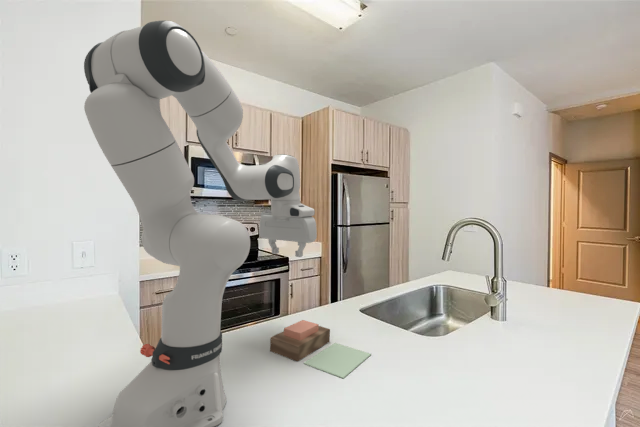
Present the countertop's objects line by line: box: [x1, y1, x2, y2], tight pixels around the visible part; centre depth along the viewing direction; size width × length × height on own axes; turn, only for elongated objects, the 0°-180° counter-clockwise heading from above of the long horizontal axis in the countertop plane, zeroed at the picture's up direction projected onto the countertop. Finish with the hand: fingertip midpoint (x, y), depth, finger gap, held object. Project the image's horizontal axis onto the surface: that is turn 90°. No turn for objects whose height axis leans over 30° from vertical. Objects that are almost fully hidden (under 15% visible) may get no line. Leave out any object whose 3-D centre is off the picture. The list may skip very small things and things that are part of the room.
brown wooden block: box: [269, 325, 331, 363], centre depth 93 cm, size 16×10×4 cm, turn 146°
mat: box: [303, 342, 372, 380], centre depth 86 cm, size 16×12×1 cm
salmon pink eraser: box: [283, 319, 320, 340], centre depth 93 cm, size 9×6×2 cm, turn 146°
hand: (286, 255), depth 95 cm, fingers open, 8 cm apart
